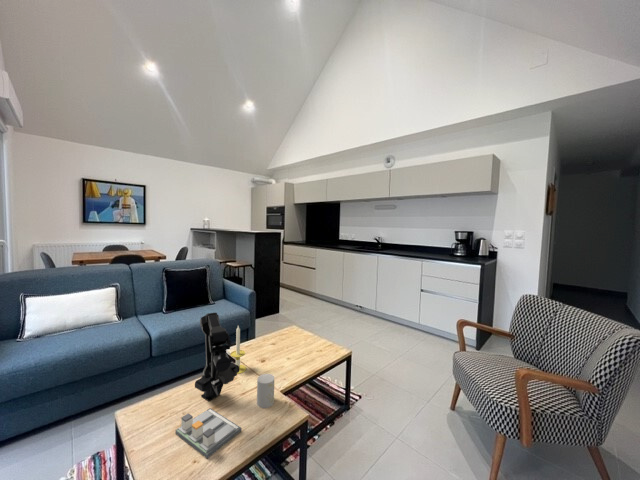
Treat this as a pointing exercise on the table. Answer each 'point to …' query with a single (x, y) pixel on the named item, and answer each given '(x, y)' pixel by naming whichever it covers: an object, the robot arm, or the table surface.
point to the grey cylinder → (265, 390)
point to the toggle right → (208, 437)
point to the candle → (238, 352)
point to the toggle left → (186, 421)
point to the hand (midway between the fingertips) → (218, 395)
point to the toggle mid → (197, 429)
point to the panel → (217, 423)
